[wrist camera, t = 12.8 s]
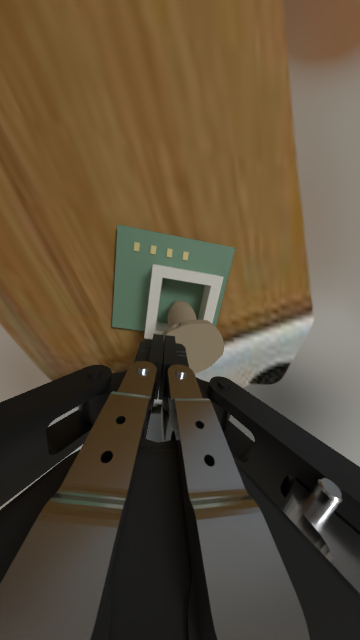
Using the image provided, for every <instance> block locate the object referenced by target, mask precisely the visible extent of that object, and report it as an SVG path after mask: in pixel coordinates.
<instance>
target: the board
mask: <svg viewBox="0 0 360 640" xmlns="http://www.w3.org/2000/svg"><path fill="white" fill-rule="evenodd" d="M234 251H235V248H233V247H228V246H223V245H218V244H213V243H208V242H203V241H198V240H193V239H188V238H183V237H177V236H172V235H167V234H162V233H157V232H152V231H147V230H142V229H137V228H132V227H127V226H122V225H118V227H117V245H116V264H115V282H114V300H113V318H112V327H117V328H125V329H132V330H140V331H145V327H146V318H147V310H148V301H149V293H150V284H151V276H152V267H153V264H157V265H163V266H169V267H174V268H180V269H185V270H191V271H197V272H202V273H208V274H214V275H218V276H222V277H224V278H223V282H222V286H221V290H220V294H219V298H218V303H217V307H216V311H215V315H214V319H213V323H212V324H213V325H214V326H215V327H216V323H217V319H218V315H219V311H220V307H221V303H222V299H223V295H224V291H225V287H226V283H227V279H228V275H229V271H230V267H231V263H232V259H233V255H234ZM204 287H205V285H203V284H197V283H192V282H186V281H180V280H174V279H168V278H163V281H162V288H161V295H160V303H159V310H158V317H157V322H160V323H167V324H168V312H169V309H170V307H171V306H172V305H173V304H174V301H176V300H179V301H186V302H187V303H188V304H189V305H190V306H191V307H192V308H193V310H194V312H195V315H196V318H197V320H198V315H199V311H200V306H201V301H202V297H203V292H204Z"/></svg>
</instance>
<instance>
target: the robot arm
mask: <svg viewBox="0 0 360 640" xmlns="http://www.w3.org/2000/svg"><path fill="white" fill-rule="evenodd" d="M158 390H159V398H158V399H160V400H163V401H162V409H161V421H162V442H160V443H157V442H153V441H150V440H147V439H146V435H147V430H148V425H149V420H150V415H151V409H152V407H153V404H154V399H157V397H158ZM77 406H79V410H77V411H75V412H74V413H72V414H70V415H68V416H67V417H65V418H63V419H62V420H60V421H58V422H57V423H55V424H53V425H51V426H50V427H48V426H49V424H50V423H51V422H52V421H53V420H55V419H56V418H58V417H59V416H61V415H63V414H65V413H66V412H68V411H70V410H72V409H73V408H75V407H77ZM230 415H232V416H233V417H234V418H236V419H237V420H238V421H239V422H240V423H241V424H243V425H244V426H245V427H246V428H247V429H249V430H250V431H251V432H252V434H253V436H254V438H255V442H253V441H252V440H251V439H250V438H248V437H247V436H246V435H245V434H244V433H243V432H241V431H240V430H239V429H238V428H237V427H235V426H234V425H233V424H232V423H231V422H230V421H229V418H230ZM47 427H48V428H47ZM82 444H83V446H82V448H81V449H80V450H78V451H77V452H75V453H73V454H71V455H70V456H68V455H69V454H70V453H72V452H73V451H74V450H76V449H77V448H78V447H79V446H81V445H82ZM66 456H68V457H67V458H65V457H66ZM64 458H65V459H64ZM62 459H64V460H62ZM61 460H62V461H61ZM60 461H61V462H60ZM58 462H60V463H58ZM57 463H58V464H57ZM56 464H57V465H56ZM55 465H56V466H55ZM53 466H55V467H53ZM52 467H53V468H52ZM50 468H52V469H51V470H50V471H49V472H47V471H48V470H49V469H50ZM45 472H47V473H46V474H45V475H43V474H44V473H45ZM41 475H43V476H42V477H41V478H40V479H38V480H37V481H36V482H35V483H33V484H32V485H31V486H30V487H28V488H27V489H26V490H25V491H24V492H22V493H21V494H20V495H19V496H17V497H16V498H15V499H14V500H12V501H11V502H10V503H9V504H7V505H6V506H5V507H3V508H2V509H1V510H0V640H360V467H359V466H357V465H356V464H354V463H353V462H351V461H350V460H348V459H347V458H345V457H344V456H342V455H341V454H339V453H338V452H336V451H335V450H334V449H332V448H331V447H329V446H328V445H326V444H325V443H323V442H322V441H320V440H319V439H317V438H316V437H314V436H313V435H311V434H310V433H308V432H307V431H305V430H304V429H302V428H301V427H299V426H298V425H296V424H295V423H293V422H292V421H290V420H289V419H287V418H286V417H284V416H283V415H281V414H280V413H278V412H277V411H275V410H274V409H273V408H271V407H269V406H268V405H267V404H265V403H264V402H262V401H261V400H259V399H257V398H256V397H255V396H253V395H251V394H250V393H249V392H247V391H246V390H244V389H243V388H241V387H240V386H238V385H237V384H235V383H234V382H232V381H231V380H229V379H227V378H224V377H213V378H211V380H210V383H209V382H206V381H203V380H200V379H198V378H196V377H195V374H194V372H193V370H192V369H191V368H189V364H188V359H187V354H186V348H185V347H184V346H183V345H182V344H179V343H176V341H175V336H169V335H165V336H164V335H161V334H153V339H152V340H144V341H142V342H141V343H140V347H139V350H138V353H137V356H136V359H135V362H134V363H132V364H131V365H130V366H129V368H128V370H127V371H125V372H121V373H113V374H112V372H111V369H110V368H108V367H107V366H103V365H93V366H89V367H86V368H83V369H81V370H79V371H76V372H74V373H71V374H69V375H66V376H64V377H62V378H59V379H57V380H54V381H52V382H49V383H47V384H44V385H42V386H40V387H37V388H35V389H32V390H30V391H27V392H25V393H22V394H20V395H18V396H15V397H13V398H10V399H8V400H5V401H3V402H1V403H0V506H2V505H3V504H4V503H6V502H7V501H8V500H10V499H11V498H12V497H14V496H15V495H16V494H18V493H19V492H20V491H21V490H23V489H24V488H26V487H27V486H28V485H30V484H31V483H32V482H33V481H35V480H36V479H37V478H39V477H40V476H41Z"/></svg>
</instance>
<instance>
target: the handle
mask: <svg viewBox="0 0 360 640" xmlns="http://www.w3.org/2000/svg"><path fill="white" fill-rule="evenodd" d="M168 326H169V328H168V329H167V330H166V331H165V332H164V333H163V334H162V335H164V336H165V335H169V336H175V341H176V343H179V344H182V345H183V346H184V347H185V348H186V354H187V359H188V364H189V368H191V369H192V370H193V372H194V374H195V373H198V372H200V371H203V370H205V369H207V368H209V367H210V366H211V365H212V364H213V363H215V362H216V361H217V360H218V359H219V358H220V357H221V356H222V355H223V351H224V342H223V339H222V336H221V334H220V332H219V331H218V330H217V328H216V327H215V326H214V325H213V324H212V323H211V322H209V321H208V320H197V318H196V315H195V312H194V310H193V308H192V307H191V306H190V305H189V304H188V303H187V302H186V301H179V300H176V301H174V304H173V305H172V306H171V307H170V309H169V312H168Z"/></svg>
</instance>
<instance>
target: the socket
mask: <svg viewBox="0 0 360 640" xmlns="http://www.w3.org/2000/svg"><path fill="white" fill-rule="evenodd" d="M163 278H168V279H174V280H180V281H186V282H192V283H197V284H203V285H205V287H204V292H203V297H202V301H201V306H200V311H199V315H198V320H208V321H209V322H211V323H213V319H214V315H215V311H216V307H217V303H218V298H219V294H220V290H221V286H222V282H223V278H224V277H222V276H218V275H214V274H208V273H202V272H197V271H191V270H185V269H180V268H174V267H169V266H163V265H157V264H153V267H152V276H151V284H150V293H149V301H148V310H147V318H146V327H145V335H144V338H146V339H153V334H161V335H162V334H163V333H164V332H165V331H166V330H167V329H168V328H169V326H168V324H167V323H160V322H157V317H158V310H159V303H160V295H161V288H162V281H163Z"/></svg>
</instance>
